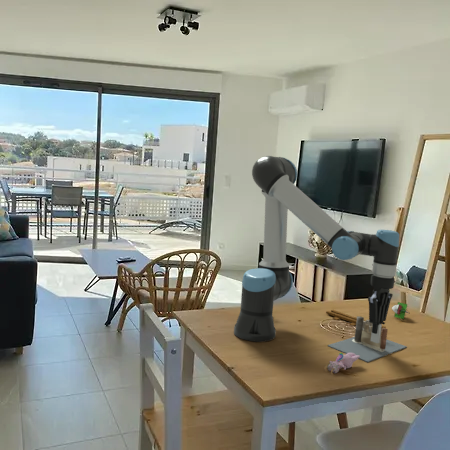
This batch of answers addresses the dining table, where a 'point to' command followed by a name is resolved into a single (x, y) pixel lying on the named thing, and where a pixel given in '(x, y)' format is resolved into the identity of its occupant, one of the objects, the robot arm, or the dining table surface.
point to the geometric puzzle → (400, 310)
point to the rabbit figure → (342, 362)
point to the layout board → (366, 349)
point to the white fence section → (361, 328)
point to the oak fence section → (367, 337)
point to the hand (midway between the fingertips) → (374, 341)
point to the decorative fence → (344, 317)
